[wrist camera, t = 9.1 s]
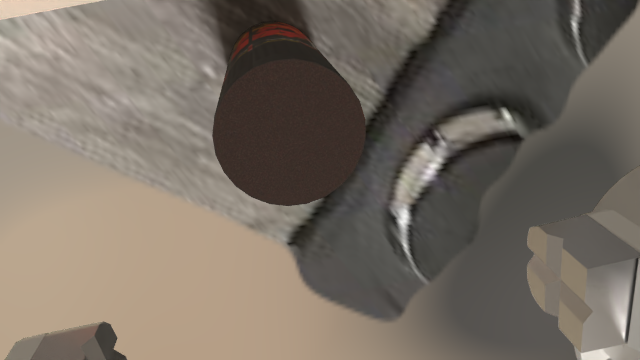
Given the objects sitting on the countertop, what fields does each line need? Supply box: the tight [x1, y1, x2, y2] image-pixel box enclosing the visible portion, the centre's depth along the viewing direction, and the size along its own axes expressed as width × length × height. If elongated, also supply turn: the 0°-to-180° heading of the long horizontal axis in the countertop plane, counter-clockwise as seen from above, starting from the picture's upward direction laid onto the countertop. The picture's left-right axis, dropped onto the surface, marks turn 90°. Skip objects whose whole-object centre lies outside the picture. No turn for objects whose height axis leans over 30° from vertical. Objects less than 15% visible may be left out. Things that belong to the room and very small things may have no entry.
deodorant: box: [212, 21, 366, 206], centre depth 25 cm, size 6×6×15 cm
